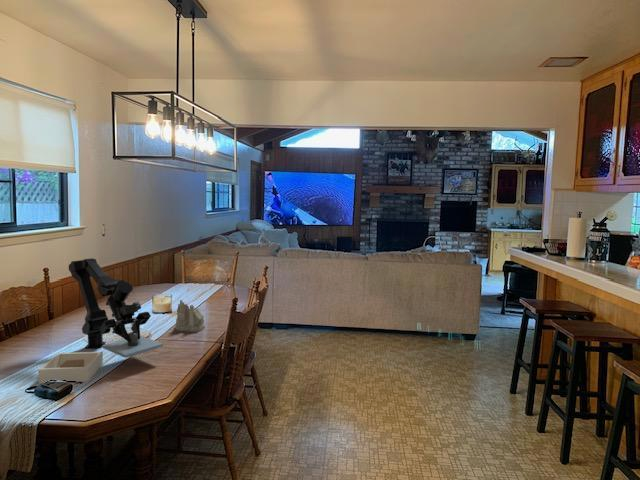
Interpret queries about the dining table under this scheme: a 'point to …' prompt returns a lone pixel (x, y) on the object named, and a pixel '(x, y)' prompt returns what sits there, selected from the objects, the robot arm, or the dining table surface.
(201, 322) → the grey jagged lump
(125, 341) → the lid
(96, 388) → the dining table surface
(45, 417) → the dining table surface
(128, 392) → the dining table surface
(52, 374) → the box
